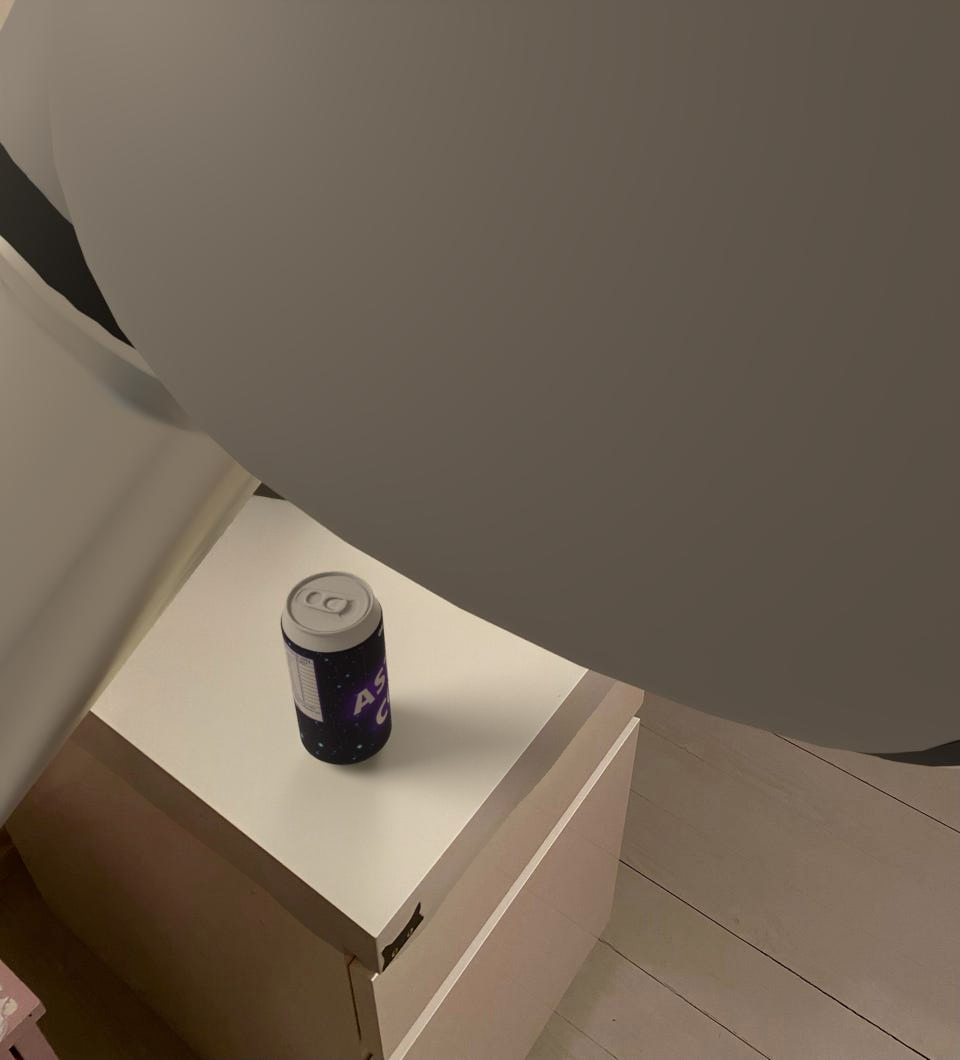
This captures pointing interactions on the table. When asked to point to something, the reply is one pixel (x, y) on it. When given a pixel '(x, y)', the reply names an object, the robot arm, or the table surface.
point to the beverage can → (337, 667)
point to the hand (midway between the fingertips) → (456, 540)
